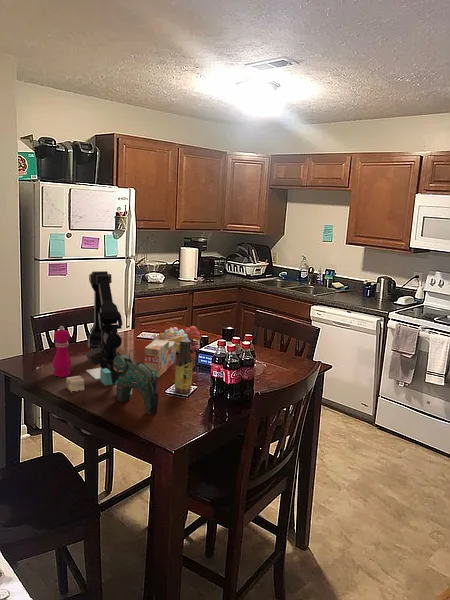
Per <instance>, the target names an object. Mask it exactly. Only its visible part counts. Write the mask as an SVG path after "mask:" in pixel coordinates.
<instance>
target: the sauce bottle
mask: <svg viewBox="0 0 450 600" xmlns="http://www.w3.org/2000/svg"><path fill="white" fill-rule="evenodd" d="M190 345H191V341H190V340H187V339H183V340H180V353H178V355H177V356H176V360H175V375H174V391H175V392H176V393H179V394H188V393H190V392H191V388H192V380H193V364H194V363H193V359H192V353H191V351H190Z"/></svg>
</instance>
